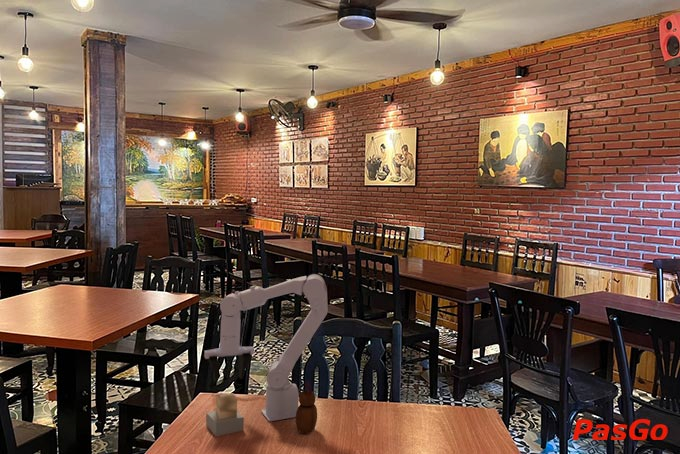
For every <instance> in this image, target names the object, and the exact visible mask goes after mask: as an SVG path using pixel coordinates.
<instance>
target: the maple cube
mask: <svg viewBox="0 0 680 454" xmlns="http://www.w3.org/2000/svg"><path fill="white" fill-rule="evenodd" d="M215 411H216V414H217V415H218V417H219V419H224V418H231V417H237V411H238V398H237V396H236V395H235V394H234V393H233V392H232V393H231V392H230V393H223V394H217V395H216V396H215Z"/></svg>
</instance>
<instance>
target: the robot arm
mask: <svg viewBox="0 0 680 454" xmlns="http://www.w3.org/2000/svg"><path fill="white" fill-rule="evenodd" d="M291 293H292V294H296V295H298V296H302V295H304V296H305V297H306V299H307V301H308V303H309V305H310V306H309V307H310V311H309V313H308V314H307V316H306V317H305V318H304V320H303V321H302V323H301V325H300V326H299V328H298V329H297V331H296V332H295V334H294V336H293V337H292V339H291V340H290V341H289V343H288V345H287V346H286V348H285V349H284V351H283V352H282V353H281V354H280V356H279V357H278V358H277V359H276V360H273V362H272V363H270V366H269V371H268V373H267V375H266V384H265V385H266V389H265V408H263V409H260V412H261V413H262V414H263V415H264V417H265V418H266V420H267V421H268V422H273V421H281V420H286V419H292V418H296V411H297V408H298V407H299V396H300V392H299V388H298V386H297V384H296V383H291V382H290V380H289V377H290V374H291V373H292V371H293V369H294V366H295V365H296V362H297V361H298V359H299V358H300V356H301V355H302V353H303V352H304V350H305V349H306V347H307V345H309V342H310V341H311V339H312V338H313V337H314V334H315V333H316V331H318V329H319V327H320V326H321V324H322V323H323V321H324V319H325V318H326V316H327V315H328V312H329V310H328V306H329V305H328V288H327V285H326V282H325V280H324V278H323V277H322V276H321V275H320V274H316V273H312V274H309V275H308V276H307V275H304V276H299V277H296V278H292V279H289V280H286V281H283V282H280V283H278V284H275V285H272V286H269V287H266V288H263V287H261V286H256V285H252V286H250V287H249V288H248V289H245V290H243V291H242V290H241V291H239V290H237V291H236V290H235V292H234V293H229V294H228V295H226V296H225V297H224V298H223V299H222V300H221V302H220V306H219V307H220V308H219V309H220V311H221V320H220V337H219V338H220V341H219V347H218V348H213V349H212V348H211V349H207V350H204V355H203V356H204V358H205V360H208V363H209V365H210V368H211V372H212V375H213V376H212V377H213V381H214V383H218V381H219V365H220V360H219V358H221V357H223V358H224V357H233V356H238V360H239V361H238V362H239V363H238V365H239V369H238V378H239V379H240V380H243V379H244V376H245V373H246V370H247V367H248V365H249V364H250V362H251V360H252V355H254V353H255V348H254V346H241V345H240V342H241V341H240V340H241V323H242V322H241V311H244V312H245V311H248V310H252V309H255V308H257V307H261V306H263V305H265V304H266V303H267V301H268V300H269V299H273V298H276V297H280V296H284V295H288V294H291Z"/></svg>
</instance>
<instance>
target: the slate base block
mask: <svg viewBox="0 0 680 454" xmlns="http://www.w3.org/2000/svg"><path fill="white" fill-rule="evenodd" d="M244 418H245V417H244V416H243V415H242V414H241V413H240V412H239V411H238V410H237V417H231V418H224V419H219V417H218V415H217V414H216V410H211V411H208V412H207V411H206V414H205V420H206V421H205V425H206V426H207V428H208V429H209V430H210V431H211V433H212V434H213V435H214V436H215V437H219V436H222V435H228V434H232V433H236V432H241V431H244V425H245V424H244V423H245V422H244V420H245V419H244Z"/></svg>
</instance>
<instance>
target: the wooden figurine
mask: <svg viewBox="0 0 680 454" xmlns="http://www.w3.org/2000/svg"><path fill="white" fill-rule="evenodd" d="M298 403H299V404H298V408H297V411H296V417H295V426H296V428H297V430H298V432H299V433H301V434H305V435H306V434H311V433H313V432H314V431H315V429H316V426H317V422H318V409H317V406H316V405H315V403H316V394H315V391H312V390H310V380H307V382H306V384H305V390H303V391H301V392H299V401H298Z"/></svg>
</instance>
